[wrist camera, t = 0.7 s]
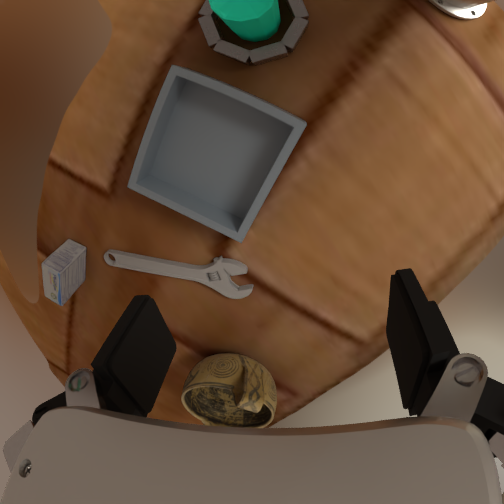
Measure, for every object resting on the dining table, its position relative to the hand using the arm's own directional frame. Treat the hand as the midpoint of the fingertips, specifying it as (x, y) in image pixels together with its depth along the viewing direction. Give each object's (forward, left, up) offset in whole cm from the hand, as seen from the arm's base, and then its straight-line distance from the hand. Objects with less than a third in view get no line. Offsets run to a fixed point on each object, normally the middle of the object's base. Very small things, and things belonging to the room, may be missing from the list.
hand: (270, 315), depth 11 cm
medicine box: (+32, -25, -28) cm, 49 cm away
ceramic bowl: (+39, +11, -28) cm, 49 cm away
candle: (-14, -11, -28) cm, 34 cm away
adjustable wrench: (+22, -7, -29) cm, 37 cm away
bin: (+3, -8, -28) cm, 29 cm away
